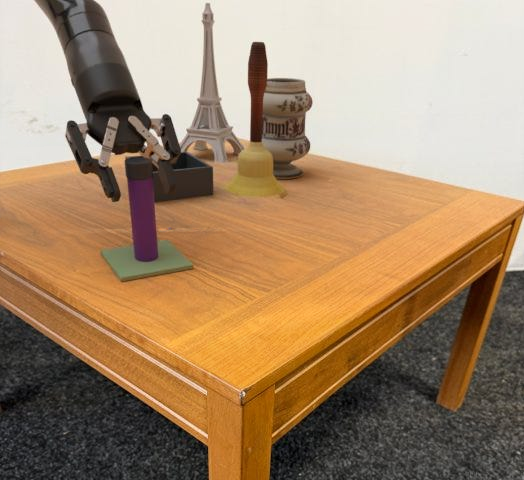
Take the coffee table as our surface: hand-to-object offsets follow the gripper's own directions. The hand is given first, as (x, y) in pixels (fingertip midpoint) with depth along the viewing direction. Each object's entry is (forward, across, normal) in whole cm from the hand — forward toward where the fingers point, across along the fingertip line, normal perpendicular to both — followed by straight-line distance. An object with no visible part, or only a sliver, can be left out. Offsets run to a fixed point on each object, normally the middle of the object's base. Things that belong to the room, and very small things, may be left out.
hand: (144, 194), depth 70 cm
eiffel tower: (-29, +36, +43) cm, 63 cm away
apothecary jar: (-15, +43, +29) cm, 54 cm away
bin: (-13, +16, +27) cm, 34 cm away
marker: (+5, 0, +8) cm, 9 cm away
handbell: (-9, +31, +23) cm, 39 cm away
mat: (+6, 0, +8) cm, 10 cm away
